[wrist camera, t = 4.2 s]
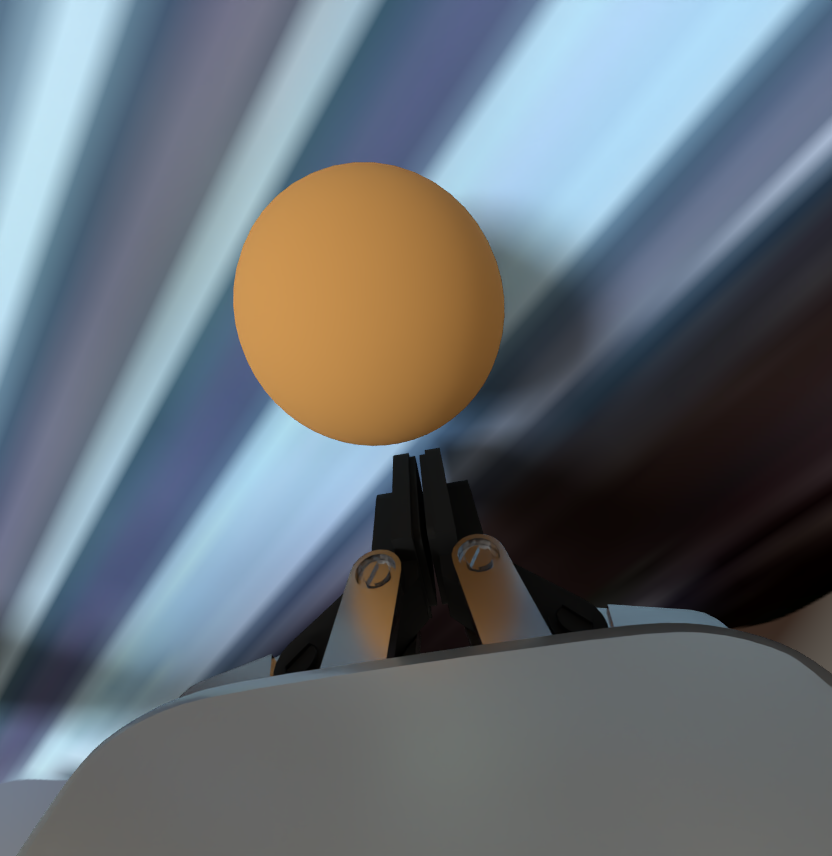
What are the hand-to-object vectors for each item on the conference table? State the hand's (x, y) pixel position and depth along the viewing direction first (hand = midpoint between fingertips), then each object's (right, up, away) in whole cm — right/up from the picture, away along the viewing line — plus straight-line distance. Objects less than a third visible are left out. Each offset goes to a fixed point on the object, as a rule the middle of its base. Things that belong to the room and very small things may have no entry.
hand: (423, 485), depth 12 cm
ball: (-1, +5, -4) cm, 6 cm away
